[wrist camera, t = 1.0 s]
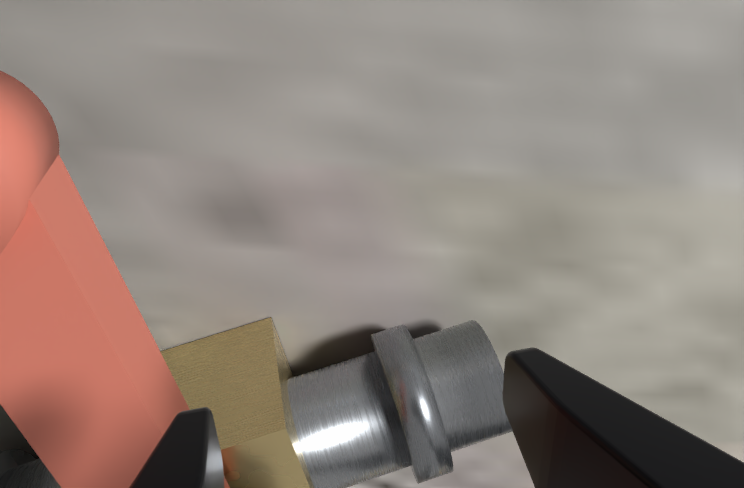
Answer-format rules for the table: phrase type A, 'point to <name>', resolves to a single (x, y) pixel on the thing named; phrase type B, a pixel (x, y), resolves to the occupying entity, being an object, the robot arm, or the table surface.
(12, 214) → the lever
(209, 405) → the pipe valve
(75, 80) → the table surface
